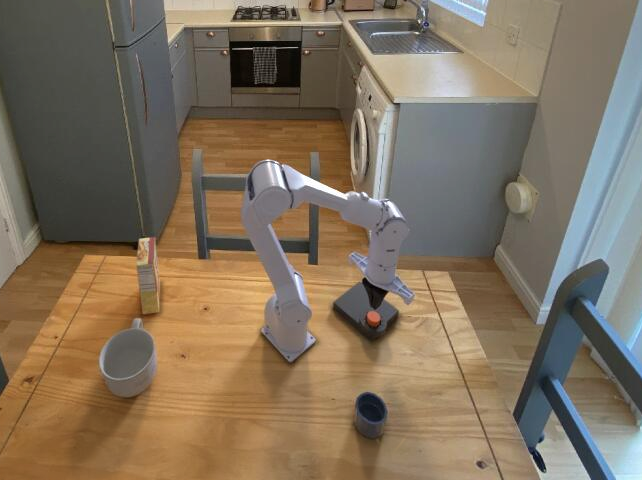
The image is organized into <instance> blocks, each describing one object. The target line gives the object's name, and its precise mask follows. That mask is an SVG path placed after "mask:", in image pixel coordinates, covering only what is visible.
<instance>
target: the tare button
mask: <svg viewBox="0 0 642 480" xmlns="http://www.w3.org/2000/svg"><path fill="white" fill-rule="evenodd" d="M367 323H368V324H369V325H370V326H372V327H377V326H379V324H380V315H379V314H378V313H377V312H374V311H370V312H368V314H367Z"/></svg>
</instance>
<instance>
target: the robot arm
mask: <svg viewBox="0 0 642 480" xmlns="http://www.w3.org/2000/svg"><path fill="white" fill-rule="evenodd" d="M245 180H246V181H245V189H244V193H243V198H242V203H241V207H240V220H241V221H240V222H241V225H242V227H243V229H244V231H245V234H246V235H247V237H248V239H249V241H250V243H251V245H252V248H253V249H254V251H255V253H256V256H257V257H258V259H259V261H260V263H261V265H262V267H263V269H264V271H265V273H266V275H267V277H268V279H269V281H270V282H271V285H272V287H273V289H274V292H275V293H274V294H273V295H271V296H270V297H269V298H268V300H267V301H266V303H265V306H264V314H263V315H264V317H263V318H264V319H263V320H264V321H263V322H264V323H263V327H262V328H261V330H260V331H261V334H262V335H263V336H264V337H265V338H266V339H267V340H268V341H269V342H270V343H271V345H273V346H274V348H275V349H276V350H277V351H278V352H279V353H280V354H281V355H282V356H283V358H285V360H287V362H289V363H292V362H293V361H295V360H296V359H298V357H300V356H301V355H302V354H303V353H304V352H305V351H307V350H308V349H309V348H310V347H311V346H312V345H313V344H315V343H316V342H317V341H316V338H315V337H314V336H313V335H312V333H310V332H309V331H308V330H309V321H310V320H311V318H312V316H313V315H312V314H313V313H312V308H311V307H310V304H309V299H308V296H307V292H306V289H305V284H304V278H303V275H302V274H301V273H299V272H298V271H297V270H296V269H294V267H293V265H292V264H290V263H289V261H288V258H287V255H286V254H285V251H284V250H283V247H282V245H281V243H280V241H279V239H278V236H277V234H276V233H275V231H274V228H273V226H272V224H271V223H273V222H274V221H276V220H277V219H278V218H279V217H281V216H282V215H284V214H285V213H286V212H287V211H288V210H289V208H290V211H291V212H292V211H295V210H296V209H297V208H298V207H299V206H301V205H302V203H308V204H312V205H315V206H318V207H319V206H320V207H322V208H325V209H328V210H333V211H336V212H338V213H339V216H340V218H341V219H342V220H343V221H345V222H348V223H350V224H353V225H356V226H357V227H361V228H364V229H365V230H369V231H370V237H369V245H368V252H367V256H365V255H362V254H360V253H357V252H356V251H353V252H352V253H351V254H349V255H348V261H347V262H348V263H349V264H350V265H355V266H356V267H357V268H358V269H359V271H360V273H361V274H362V275H363V276H364V277H362V279H361V282H362V284H363V285H364V287H365V289H366V291H367V294H368V298H369V303H370V306H371V307H372V308H373V309H374V310H376V309H377V308H378V307H379V306H381V303H382V301H383V299H384V300H385V297H386V296H387V295H388V294H389V293H391V294H394V295H396V296H398V297H399V298H401V299H402V300H403V303H404V304H405V305H407V306H409V305H410V304H412V302H414V300H415V294H416V293H415V292H414V291H412V290H411V288H410V287H408V286H407V284H406V283H405V282H404V281H403V279H401V278H400V277H399V275H398V274H397V273H396V272H397V267H398V261H399V256H400V250H401V246H402V243H403V241H404V240H405V239H406V238H407V237H408V236H409V234H410V231H411V230H410V229H409V224H408V221H407V220H406V219H405V217H404V216H403V214H402V212H401V211H400V209H399V208H398V207H397V205H396V204H395V203H394V202H393V201H392V200H390V198H381V199H374V198H372V197H369V195H368V193H366V192H364V191H360V192H356V191H354V190H350V191H348V192H346V193H343V192H340V191H338V190H336V189H335V188H332V187H329V186H327V185H325V184H323V183H321V182H319V181H317V180H314V179H313V178H311V177H309V176H307V175H304V174H302V173H301V172H299V171H298V170H297V169H294V168H293V167H291V166H290V165H289V164H284V163H282V164H281V163H280V162H278V161H276V160H274V159H263V160H260V161H258V162H256V163H255V164H254V165H253V167H252V168H251V170H250V171H249V173H248V174H247V175H246V179H245Z"/></svg>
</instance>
